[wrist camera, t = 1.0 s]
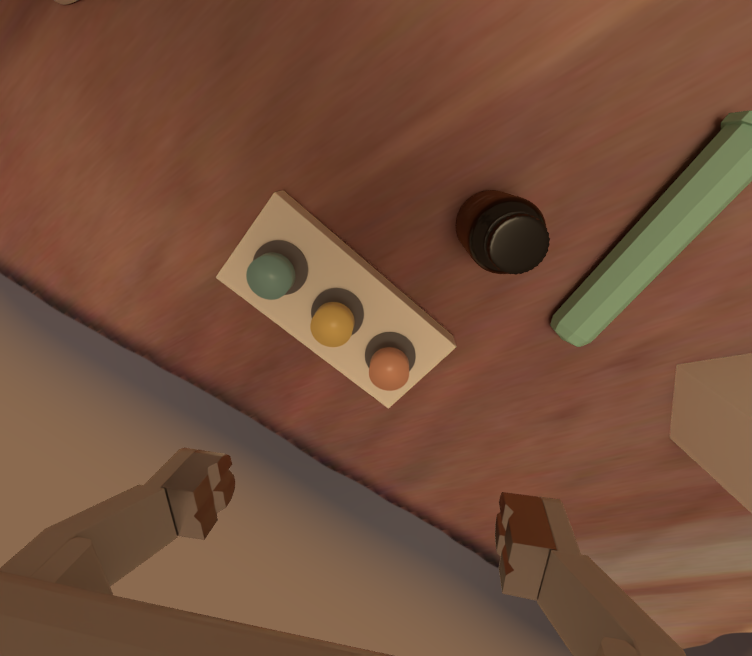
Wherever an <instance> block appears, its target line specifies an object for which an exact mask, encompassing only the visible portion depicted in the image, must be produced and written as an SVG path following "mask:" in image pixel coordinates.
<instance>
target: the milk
mask: <svg viewBox="0 0 752 656" xmlns="http://www.w3.org/2000/svg"><path fill="white" fill-rule="evenodd" d="M670 439H671V440H672V441H674V442H675V443H676V444H677V445H678V446H679V447H680V448H681V449H682V450H683V451H684V452H686V453H687V454H688V455H689V456H690V457H691V458H692V459H693V460H694V461H695V462H696V463H697V464H699V465H700V466H701V467H702V468H703V469H704V470H705V471H706V472H707V473H708V474H709V475H711V476H712V477H713V478H714V479H715V480H716V481H717V482H718V483H719V484H720V485H721V486H722V487H724V488H725V489H726V490H727V491H728V492H729V493H730V494H731V495H732V496H733V497H734V498H736V499H737V500H738V501H739V502H740V503H741V504H742V505H743V506H744V507H745V508H746V509H747V510H749V511H750V512H751V513H752V353H750V354H743V355H736V356H730V357H723V358H717V359H710V360H703V361H697V362H690V363H684V364H677V365H676V376H675V386H674V396H673V407H672V417H671V427H670Z"/></svg>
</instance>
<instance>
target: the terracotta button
mask: <svg viewBox="0 0 752 656" xmlns="http://www.w3.org/2000/svg"><path fill="white" fill-rule="evenodd" d="M369 377H370V380H371V382H372V383H373V384H374V385H375V386H376V387H378V388H379V389H382V390H386V391H393V390H397V389H399V388H401V387H403V386H404V385H405V384H406V382H407V381H408V378H409V361H408V358H407V356H406V355H405V354H404V353H403V352H402V351H401V350H399V349H396V348H392V347H386V348H382V349H380V350H378V351H377V352H375V353H374V355H373V356H372V358H371V361H370V367H369Z"/></svg>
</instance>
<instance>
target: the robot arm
mask: <svg viewBox="0 0 752 656" xmlns="http://www.w3.org/2000/svg"><path fill="white" fill-rule="evenodd" d="M53 1H55V2H57V3H59V4H62V5H66V4H70V3H73V2H76V1H78V0H53ZM231 465H232V462H231V458H230V456H229V455H227V454H222V453H216V452H210V451H203V450H195V449H190V448H182V449H179V450H178V451H177V452H176V453H175V454H174V455H173V456H172V457H171V458H170V459H169V460H168V461H167V462H166V463H165V464H164V465H163V466H162V467H161V468H160V469H159V470H158V471H157V472H156V473H155V474H154V475H153V476H152V477H151V478H150V479H149V480H148V481H147V482H146V483H145V484H144V485H137V486H135V487H133V488H131V489H129V490H127V491H124V492H122V493H120V494H118V495H116V496H114V497H112V498H110V499H107V500H105V501H103V502H101V503H99V504H97V505H95V506H93V507H91V508H89V509H86V510H84V511H82V512H80V513H78V514H76V515H74V516H71V517H69V518H67V519H65V520H63V521H61V522H59V523H57V524H55V525H52V526H50V527H48V528H46V529H44V530H43V531H42V532H41V533H40V534H39V535H38V536H37V537H35V538H34V539H33V540H32V541H31V542H30V543H28V544H27V545H26V546H25V547H24V548H23V549H22V550H20V551H19V552H18V553H17V554H16V555H15V556H13V557H12V558H11V559H10V560H9V561H8V562H7V563H6V564H4V565H3V566H2V567H1V568H0V656H393V655H389V654H384V653H379V652H375V651H370V650H365V649H361V648H356V647H351V646H346V645H342V644H337V643H332V642H328V641H323V640H318V639H314V638H309V637H304V636H300V635H295V634H290V633H286V632H281V631H277V630H272V629H267V628H262V627H258V626H253V625H248V624H243V623H239V622H234V621H230V620H225V619H221V618H216V617H211V616H206V615H202V614H197V613H193V612H188V611H183V610H179V609H174V608H170V607H165V606H160V605H155V604H151V603H146V602H141V601H137V600H132V599H128V598H122V597H118V596H114V595H113V593H112V591H111V588H110V586H111V585H113V584H114V583H116V582H117V581H118V580H120V579H121V578H122V577H124V576H125V575H126V574H128V573H129V572H131V571H132V570H133V569H135V568H136V567H138V566H139V565H140V564H142V563H143V562H144V561H146V560H147V559H148V558H150V557H151V556H153V555H154V554H155V553H157V552H158V551H160V550H161V549H162V548H164V547H165V546H167V545H168V544H169V543H171V542H172V541H173V540H175V539H176V538H177V536H182V537H189V538H196V539H202V540H204V539H205V538H206V537H207V535H208V534H209V532H210V531H211V529H212V528H213V526H214V525H215V523H216V522H217V520H218V519H217V513H218V512H220V511H221V510H223V509H225V508H226V507H227V505H228V504H229V502H230V501H231V499H232V496H233V493H234V489H235V479H234V475H233V474H232V473H231V472H230V470H229V468H230V466H231ZM499 506H500V513H498V514H497V517H496V524H495V542H496V551H497V553H498V554H499V555H500V557H501V558H500V564H499V573H500V580H501V587H502V593H503V594H508V595H513V596H517V597H522V598H527V599H532V600H537V603H538V604H539V606H540V607H541V609H542V610H543V612H544V613H545V615H546V616H547V618H548V619H549V621H550V622H551V624H552V625H553V626H554V628H555V630H556V631H557V633H558V634H559V636H560V637H561V639H562V640H563V642H564V643H565V645H566V646H567V648H568V649H569V651H570V652H571V653H572V655H573V656H686V655H685V652H684V650H683V649H682V648H681V647H680V646H679V645H678V644H677V643H676V642H675V641H674V640H673V639H672V638H671V637H670V636H669V635H667V634H666V633H665V632H664V631H663V630H662V629H661V628H660V627H659V626H658V625H657V624H656V623H655V622H654V621H653V620H652V619H651V618H650V617H649V616H648V615H647V614H646V613H645V612H644V611H643V610H642V609H641V608H640V607H639V606H638V605H637V604H636V603H635V602H634V601H633V600H632V599H631V598H630V597H629V596H628V595H627V594H626V593H625V592H624V591H623V590H622V589H621V588H620V587H619V586H618V585H617V584H616V583H615V582H614V581H613V580H612V579H611V578H610V577H609V576H608V575H607V574H606V573H605V572H604V571H602V570H601V569H600V568H599V567H598V566H597V565H596V564H595V563H594V562H593V561H592V560H591V559H590V558H589V557H588V556H586V555H581V553H580V550H579V547H578V544H577V542H576V539H575V536H574V533H573V530H572V528H571V525H570V522H569V519H568V517H567V514H566V511H565V508H564V506H563V503H562V502H561V500H560V499H553V498H545V497H537V496H529V495H521V494H513V493H505V492H502V493H501V495H500V500H499Z"/></svg>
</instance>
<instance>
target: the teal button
mask: <svg viewBox="0 0 752 656" xmlns="http://www.w3.org/2000/svg"><path fill="white" fill-rule="evenodd" d="M246 278H247V283H248V285H249V287H250V288H251V290H252V291H253V292H254V293H255V294H256V295H258V296H259V297H261V298H264V299H268V300H275V299H278V298H281V297H282V296H284V295H285V294H286V293H287V291H288V290H289V289H290V288H291V287H292V286H293V284H294V281H295V270H294V267H293V265H292V263H291V262H290V261H289V260H288V259H287V258H286V257H285V256H283V255H281V254H279V253H274V252H270V253H265V254H263V255H261V256H260V257H258V258H257V259H255V260H254V261H252V262H251V264H250V265H249V266H248V269H247V273H246Z"/></svg>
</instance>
